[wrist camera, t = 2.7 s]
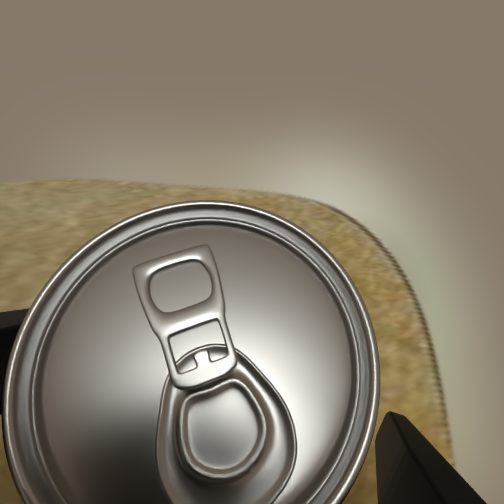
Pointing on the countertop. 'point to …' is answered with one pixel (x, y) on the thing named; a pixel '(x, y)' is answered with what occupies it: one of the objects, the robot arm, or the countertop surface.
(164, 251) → the can
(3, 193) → the countertop surface
